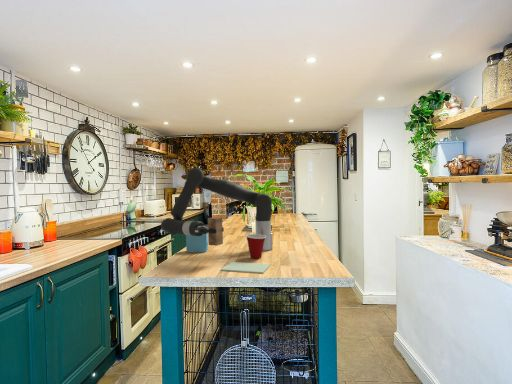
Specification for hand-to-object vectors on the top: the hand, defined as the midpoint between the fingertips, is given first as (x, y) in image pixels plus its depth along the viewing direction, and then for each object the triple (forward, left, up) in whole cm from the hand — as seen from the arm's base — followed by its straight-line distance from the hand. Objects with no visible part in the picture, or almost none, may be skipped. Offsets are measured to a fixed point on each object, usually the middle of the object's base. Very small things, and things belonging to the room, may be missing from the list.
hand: (219, 230), depth 156 cm
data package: (+6, -35, -17) cm, 39 cm away
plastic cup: (-21, -7, -17) cm, 28 cm away
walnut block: (+2, -2, -7) cm, 7 cm away
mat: (-10, +11, -17) cm, 22 cm away
